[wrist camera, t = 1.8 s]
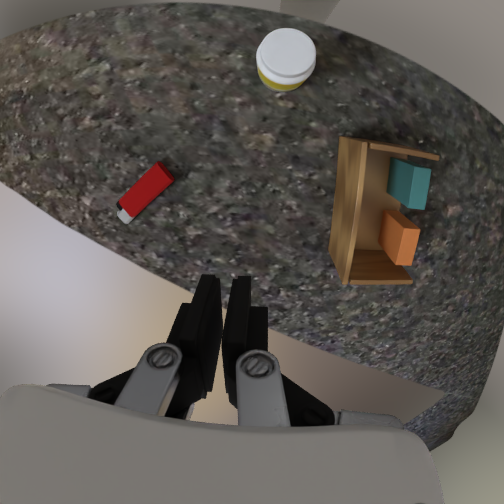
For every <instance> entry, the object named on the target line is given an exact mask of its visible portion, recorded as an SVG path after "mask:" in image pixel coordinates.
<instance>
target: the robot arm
mask: <svg viewBox="0 0 504 504" xmlns="http://www.w3.org/2000/svg"><path fill="white" fill-rule="evenodd" d="M221 339H222V357H223V368H224V378H225V388H226V393H228V395H229V402H230V403H231V404H232V405H234V406H235V408H236V409H238V425H225V424H213V423H205V422H196V421H190V418H191V415H192V412H193V410H194V403H195V402H197V401H198V400H200V399H201V398H204V399H206V395H207V392H211V391H212V388H213V383H214V377H215V371H216V366H217V361H218V355H219V350H220V344H221ZM0 504H444V499H443V493H442V489H441V485H440V481H439V477H438V474H437V471H436V468H435V465H434V462H433V459H432V457H431V454H430V452H429V450H428V448H427V446H426V445H425V443H424V442H423V441H422V440H421V439H420V438H419V437H418V436H417V435H416V434H414V433H412V432H409V431H406V430H404V427H403V423H402V422H401V421H400V419H398V418H397V417H395V416H392V415H385V414H375V413H365V412H357V411H349V410H341V411H340V412H338V411H332V410H331V409H330V408H329V407H328V406H327V405H326V404H324V403H322V402H321V401H320V400H318V399H317V398H315V397H314V396H312V395H311V394H309V393H308V392H307V391H305V390H304V389H302V388H301V387H300V386H298V385H297V384H295V383H294V382H292V381H291V380H290V379H288V378H287V377H286V376H284V375H283V374H282V373H281V371H280V366H279V362H278V360H277V358H276V357H275V356H274V355H273V354H271V353H270V352H268V307H256V306H251V276H238V279H233V282H232V287H231V292H230V297H229V302H228V308H227V313H226V318H225V324H224V329H223V319H222V304H221V288H220V279H219V278H216V277H215V275H206V274H202V275H201V278H200V281H199V283H198V286H197V288H196V291H195V294H194V297H193V299H192V302H191V303H182V304H181V306H180V309H179V311H178V314H177V316H176V319H175V321H174V324H173V326H172V329H171V331H170V334H169V336H168V339H167V342H166V343H158V344H155V345H152V346H151V347H149V348H148V349H147V350H146V351H145V352H144V354H143V356H142V357H141V359H140V361H139V362H138V364H137V366H136V367H135V368H133V369H131V370H129V371H126V372H124V373H122V374H119V375H117V376H115V377H113V378H111V379H109V380H106V381H104V382H102V383H99V384H98V385H96V386H95V387H94V388H91V387H90V385H66V384H49V385H46V386H43V385H35V384H24V385H23V384H22V385H17V386H13V387H11V388H9V389H8V390H7V391H6V392H5V393H4V394H3V395H2V396H1V397H0Z"/></svg>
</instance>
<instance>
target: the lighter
mask: <svg viewBox="0 0 504 504" xmlns="http://www.w3.org/2000/svg"><path fill="white" fill-rule="evenodd" d="M174 180H175V179H174V177H173V176H172V174H171V173H170V172H169V171H168V170H167V168H166V167H165V166H164V165H163V164H162V163H161V162H159V161H158V162H157V163H156V164H155V165H153V166H152V167H151V168H150V169H149V170H148V171H147V172H146V173H145V174H144V175H143V176H142V177H141V178H140V179H139V180H138V181H137V182H136V183H135V184H134V185H133V186H132V187H131V188H130V189H129V190H128V191H127V192H126V193H125V195H124V196H123V197H122V198H121V199H120V200H119V201H118V202H117V204H116V205H117V207H118V208H119V210H120V211H118V212H117V215H118V217H119V218H120V219H121V220H122V221H123V222H124V223H125V224H128V223H129V222H130V221H131V220H132V219H133V218H135V217H136V216H137V215H138V214H139V213H140V212H141V211H142V210H143V209H144V208H145V207H146V206H147V205H148V204H149V203H150V202H151V201H152V200H153V199H154V198H156V197H157V196H158V195H159V194H160V193H161V192H162V191H163V190H164V189H165V188H166V187H168V186H169V185H170V184H171V183H172V182H173V181H174Z"/></svg>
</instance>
